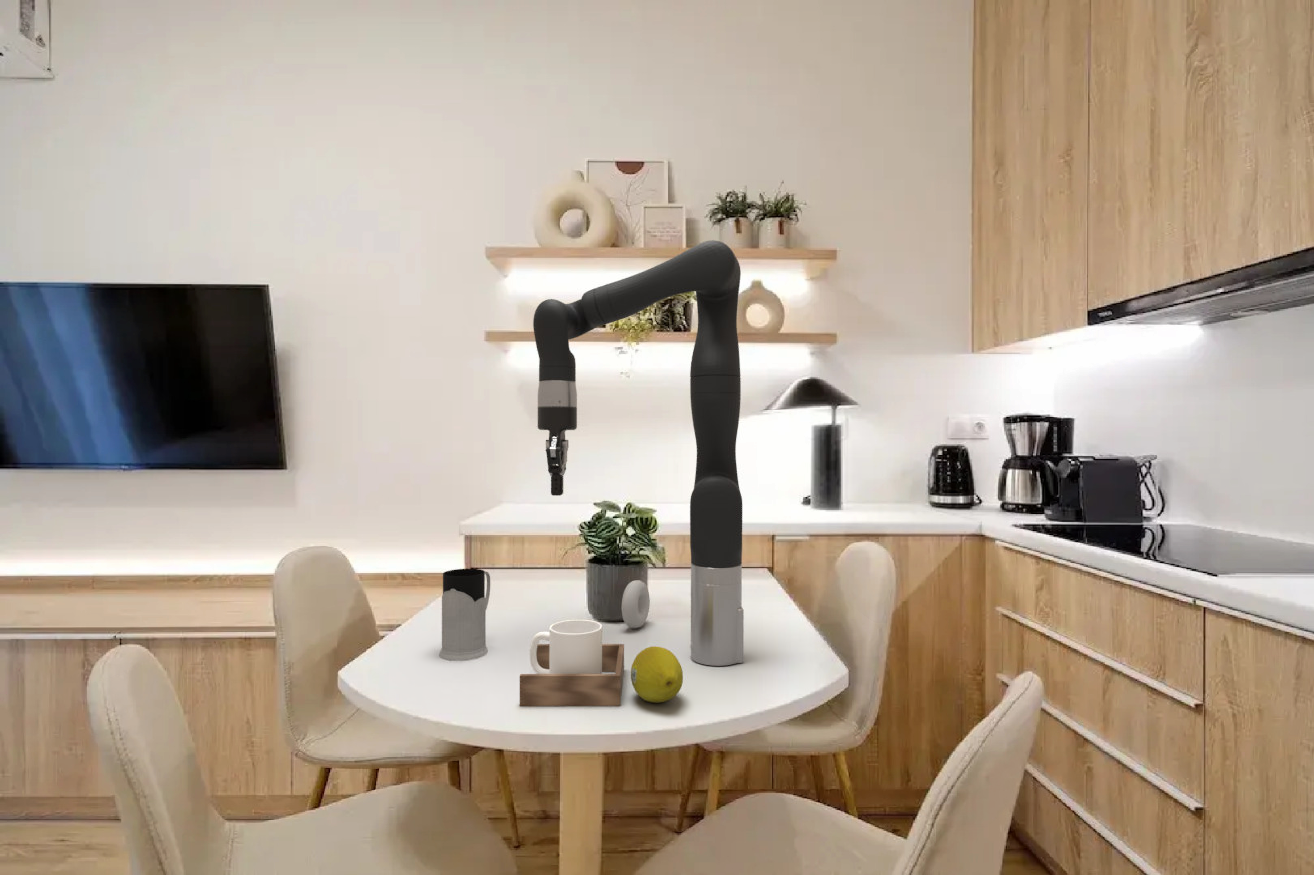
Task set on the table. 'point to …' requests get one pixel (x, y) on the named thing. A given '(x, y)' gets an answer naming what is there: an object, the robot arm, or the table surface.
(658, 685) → the lemon
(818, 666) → the table surface
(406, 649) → the table surface
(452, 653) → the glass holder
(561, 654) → the cup
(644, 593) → the donut
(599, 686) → the wooden box
